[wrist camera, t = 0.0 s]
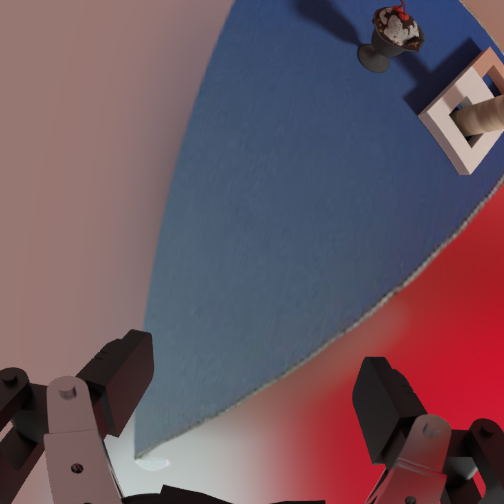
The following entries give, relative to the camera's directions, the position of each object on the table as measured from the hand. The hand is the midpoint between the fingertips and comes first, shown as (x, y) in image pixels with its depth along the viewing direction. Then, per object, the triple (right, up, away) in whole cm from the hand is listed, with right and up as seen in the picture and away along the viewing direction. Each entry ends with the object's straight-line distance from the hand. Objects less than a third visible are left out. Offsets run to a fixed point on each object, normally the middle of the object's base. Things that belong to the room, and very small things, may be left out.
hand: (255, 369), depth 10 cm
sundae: (+17, +32, +22) cm, 43 cm away
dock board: (+36, +28, +22) cm, 50 cm away
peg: (+32, +24, +23) cm, 46 cm away
